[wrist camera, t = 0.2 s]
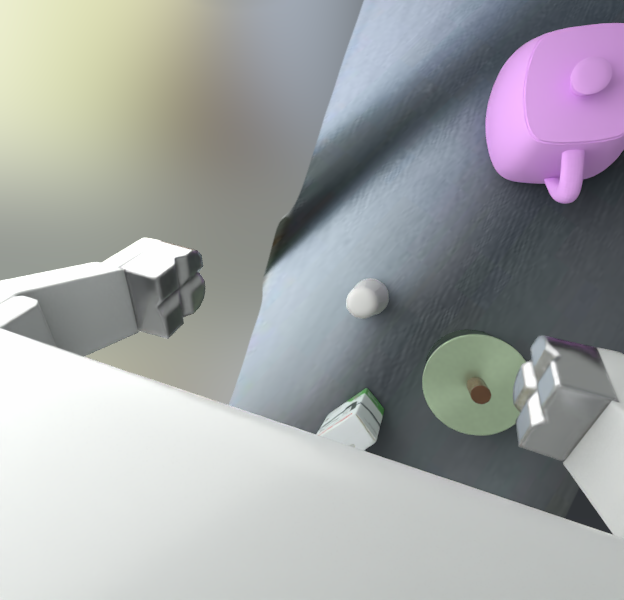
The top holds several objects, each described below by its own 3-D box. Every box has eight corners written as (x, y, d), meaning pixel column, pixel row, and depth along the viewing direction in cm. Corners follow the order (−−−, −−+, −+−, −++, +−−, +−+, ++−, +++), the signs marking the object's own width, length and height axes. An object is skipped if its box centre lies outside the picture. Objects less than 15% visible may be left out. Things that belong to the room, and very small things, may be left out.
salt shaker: (347, 289, 64) (330, 294, 51) (378, 271, 62) (368, 272, 50) (365, 320, 63) (353, 333, 51) (396, 303, 62) (392, 311, 49)
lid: (543, 421, 52) (557, 438, 46) (437, 439, 55) (439, 457, 50) (514, 321, 51) (525, 327, 46) (410, 346, 55) (410, 354, 50)
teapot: (476, 216, 58) (497, 199, 43) (484, 67, 56) (509, -3, 41) (659, 213, 52) (754, 193, 38) (675, 47, 50) (781, -42, 36)
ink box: (367, 386, 64) (356, 411, 53) (385, 410, 64) (379, 442, 52) (326, 414, 66) (308, 444, 55) (344, 438, 66) (329, 473, 54)
